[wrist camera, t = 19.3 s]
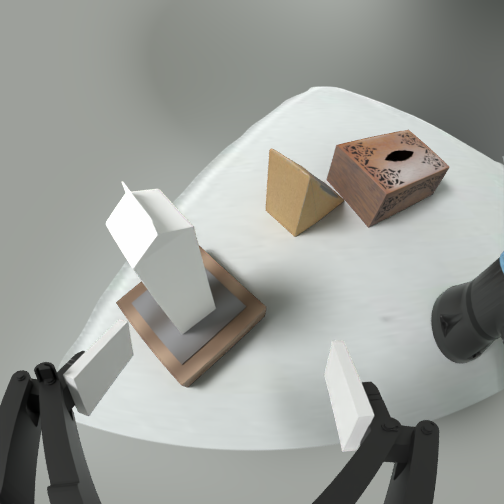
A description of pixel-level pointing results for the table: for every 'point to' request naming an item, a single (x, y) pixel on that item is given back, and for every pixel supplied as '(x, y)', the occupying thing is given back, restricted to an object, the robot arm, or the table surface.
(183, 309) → the milk
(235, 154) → the table surface
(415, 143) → the tissue box cover
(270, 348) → the table surface
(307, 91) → the table surface
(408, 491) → the robot arm
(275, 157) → the sandwich container
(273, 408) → the table surface
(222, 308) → the walnut plinth
